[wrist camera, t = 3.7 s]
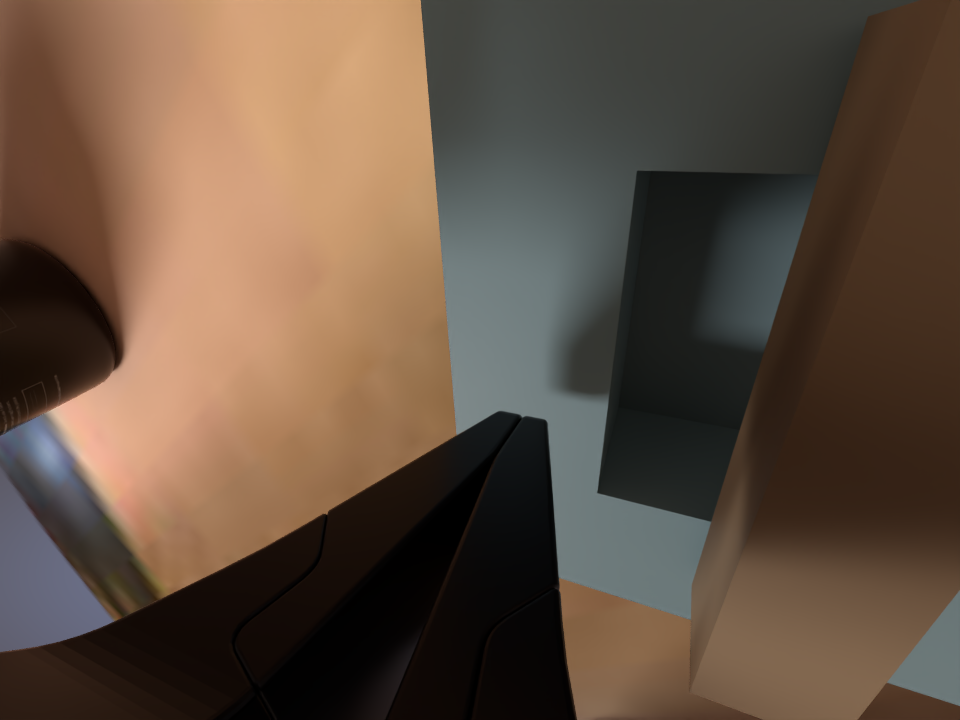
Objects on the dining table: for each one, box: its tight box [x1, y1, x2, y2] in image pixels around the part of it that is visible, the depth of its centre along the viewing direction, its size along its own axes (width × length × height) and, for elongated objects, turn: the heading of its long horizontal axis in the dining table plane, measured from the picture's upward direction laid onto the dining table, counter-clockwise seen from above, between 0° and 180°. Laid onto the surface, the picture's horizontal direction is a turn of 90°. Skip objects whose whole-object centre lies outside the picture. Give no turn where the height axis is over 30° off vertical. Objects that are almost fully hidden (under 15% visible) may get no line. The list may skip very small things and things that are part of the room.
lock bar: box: [689, 0, 960, 720], centre depth 6 cm, size 9×2×2 cm, turn 2°
